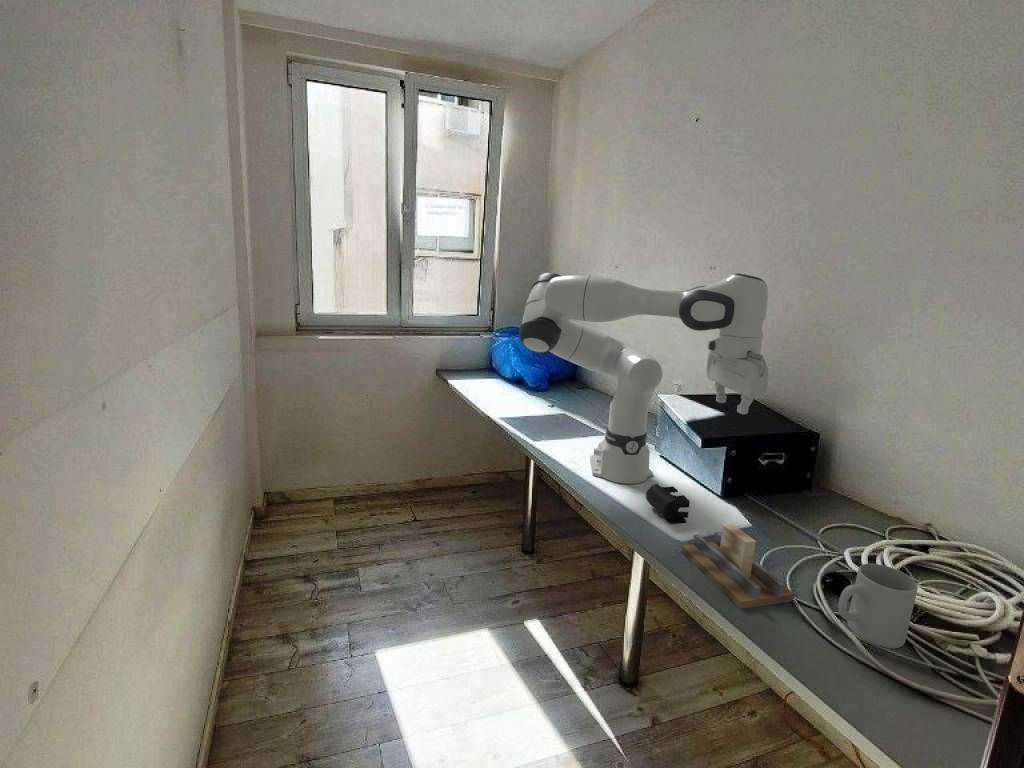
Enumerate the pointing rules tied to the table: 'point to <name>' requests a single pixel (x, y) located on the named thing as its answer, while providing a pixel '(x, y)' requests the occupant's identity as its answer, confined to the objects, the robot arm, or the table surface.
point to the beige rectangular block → (737, 548)
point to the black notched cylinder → (668, 503)
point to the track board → (736, 575)
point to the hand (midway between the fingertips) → (730, 407)
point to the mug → (879, 605)
